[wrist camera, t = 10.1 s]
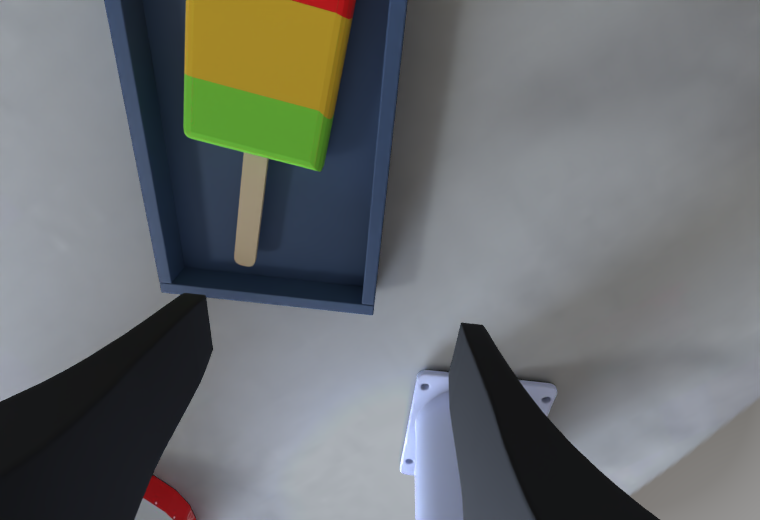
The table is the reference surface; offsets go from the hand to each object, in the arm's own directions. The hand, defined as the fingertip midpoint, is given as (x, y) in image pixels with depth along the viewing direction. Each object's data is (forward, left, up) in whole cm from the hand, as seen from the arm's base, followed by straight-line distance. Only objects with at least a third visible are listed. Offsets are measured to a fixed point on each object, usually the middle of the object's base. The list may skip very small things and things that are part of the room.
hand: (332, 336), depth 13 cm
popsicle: (+4, +4, -9) cm, 11 cm away
